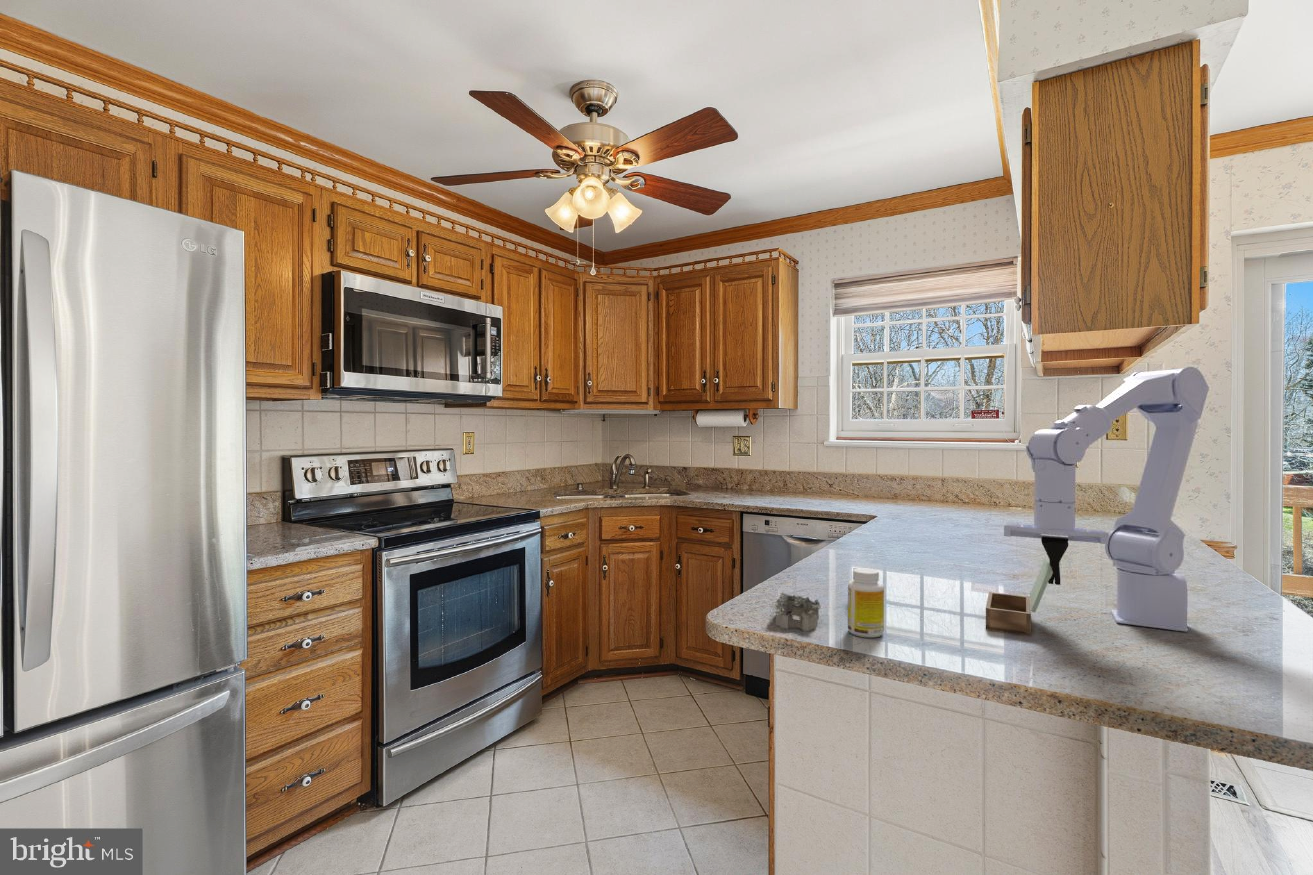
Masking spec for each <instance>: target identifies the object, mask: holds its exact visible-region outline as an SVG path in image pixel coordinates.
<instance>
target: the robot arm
mask: <svg viewBox="0 0 1313 875" xmlns="http://www.w3.org/2000/svg"><path fill="white" fill-rule="evenodd" d="M1121 384H1122V385H1120V387H1117V389H1115V390H1114V391H1112V393H1110V394H1109V395H1107V396H1106V397H1105V398H1104V399H1103V400H1102V401H1100V402H1099V403H1098V404H1096V405H1094V404H1087V405H1086V404H1083V405H1082V404H1081V405H1077V406H1075V407H1074V408H1073V412H1072V413H1070V414H1069V415H1068V416H1066V417H1065V418H1063V419H1062V420H1057V421H1055V422H1054V423H1053V426H1051V427H1050V429H1039V430H1037V431H1036V432H1035V433H1034V434H1032V435H1031V437H1030V438H1029V440H1028V443H1027V445H1025V451H1026V454H1027V456H1028V458H1029V460H1030V462H1031V470H1032V472H1033V473H1034V490H1033V491H1034V496H1033V497H1034V498H1033V499H1034V501H1033V502H1034V504H1033V505H1034V506H1033V507H1034V508H1033V509H1034V510H1033V511H1034V512H1033V515H1034V518H1033V524H1019V523H1018V524H1017V523H1016V524H1015V523H1004V524H1003V536H1004V537H1009V538H1010V537H1015V538H1016V537H1018V538H1031V539H1040V540H1041V544H1042V546H1043V549H1044V551H1045V552H1046V555H1047V557H1048V558H1049V564H1050V566H1051V567H1052V572H1053V573H1052V576H1051V578H1050V579H1049V581H1048V583H1047V585H1054V584H1055V586H1056V585H1057V586H1061V572H1060V563H1061V561H1062V558H1063V557H1064V555H1065V553H1066V551H1067V550H1068V548H1069V542H1079V543H1081V542H1083V543H1095V544H1101V545H1104V550H1105V554H1106V556H1107V557H1108V558H1109V559H1110V560H1111V561H1112V567H1115V568H1116V609H1114V608H1113V609H1111V610H1110V612H1111V614H1112V616H1113V618H1114V621H1116V623H1118V624H1123V625H1124V624H1126V625H1133V626H1140V627H1149V628H1156V629H1162V630H1172V631H1177V632H1179V631H1180V632H1186V633H1187V632H1188V631H1189V628H1188V598H1189V597H1188V585H1187V579H1186V577H1185V575H1184V574H1182V573H1175V571H1177V570H1178V569H1179V568H1180V567H1181V565H1182V563H1183V561H1184V558H1185V551H1184V540H1185V536H1186V534H1185V532H1184V531H1183V530H1182V529H1181V528H1180V527H1179V525H1177V524H1176V523H1175V522H1174V521H1173V520H1172V517H1173V513H1174V509H1175V506H1176V502H1177V499H1178V495H1179V491H1180V488H1181V484H1182V481H1183V478H1184V473H1185V470H1186V468H1187V463H1188V460H1189V456H1190V453H1191V449H1192V446H1193V442H1194V439H1195V434H1196V432H1197V428H1198V423H1199V420H1200V419H1201V417H1202V414H1203V411H1204V407H1205V403H1206V400H1207V397H1208V392H1209V390H1210V387H1209V385H1208V383H1207V381H1206V378H1205V376H1204V375H1203V373H1202V371H1200V370H1199V369H1198V368H1196V367H1194V366H1186V367H1181V368H1172V369H1171V368H1170V369H1160V370H1151V371H1150V370H1149V371H1144V370H1141V371H1135V372H1133V373H1132V374H1131V375H1130V376H1127V377H1124V378H1123V380H1122V383H1121ZM1134 409H1136V410H1137V411H1138V412H1139V413H1140V414H1141V416H1143V417H1144V419H1146V421H1149V422H1152V423H1153V425H1154V427H1155V430H1154V434H1153V438H1152V441H1151V445H1150V447H1149V451H1148V455H1147V458H1146V461H1145V462H1146V463H1145V465H1144V469H1143V472H1142V476H1141V480H1140V482H1139V486H1138V490H1137V493H1136V496H1135V499H1134V504H1133V507H1132V509H1131V511H1129V512H1128V513H1126V514H1124V515H1122V516H1120V517H1118V518H1117V519H1116V520H1115V523H1114V525H1113V528H1112V529H1111V530H1110V532H1109V531H1107V530H1103V529H1102V530H1100V529H1099V530H1098V529H1090V528H1080V527H1076V469H1077V467H1076V464H1077V463H1080V462H1081V461H1083V458H1084V457H1085V455H1086V451H1087V449H1089V448H1090V446H1091V445H1092V444H1094V443H1095V442H1097V441H1098V440H1100V439H1102V438H1103V437H1104V436H1105V435H1107V434H1108V433H1110V431H1111V430H1112V427H1113V421H1115V420H1117V419H1118V418H1120V417H1122V416H1124V415H1126V414H1128V413H1129V412H1131V411H1132V410H1134Z"/></svg>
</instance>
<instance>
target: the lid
mask: <svg viewBox="0 0 1313 875" xmlns="http://www.w3.org/2000/svg"><path fill="white" fill-rule="evenodd" d="M1052 573H1053V572H1052V567H1051V566H1050V564H1049V557H1048V556H1044V560H1043V561H1042V564H1041V566H1040V569H1039V571H1038V574H1037V576H1036V578H1035V581H1034V583H1033V585H1032V588H1031V590H1030V593H1029V597H1030V608H1031V612H1032V613H1036V611H1037V609H1038V607H1039V605H1040V602H1041V600H1042V597H1043V595H1044V592H1045V590H1046V588H1047V585H1048V581H1049V579H1050V578H1051V576H1052Z"/></svg>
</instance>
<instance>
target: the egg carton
mask: <svg viewBox="0 0 1313 875" xmlns="http://www.w3.org/2000/svg"><path fill="white" fill-rule="evenodd" d="M772 609H773V611H774V613H775V626H777V627H780V628H782V629H790V628H791V629H792V628H797V629H801V630H802V631H807V632H808V631H810V630H817V625H818V619H819V610H820V609H821V604H820V601H819V600H818V599H815V600H811V599H810V597H809V596H808V597H804V596H800V595H795V594H793V595H790V594H787V593H784V592H781V594H780V596H779V597H778V599H776V602H775V603H774V605H772ZM789 612H791V613H789ZM787 613H789V614H787Z"/></svg>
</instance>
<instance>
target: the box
mask: <svg viewBox="0 0 1313 875" xmlns="http://www.w3.org/2000/svg"><path fill="white" fill-rule="evenodd" d="M1031 612H1032V611H1031V603H1030V596H1029V595H1028V596H1027V595H1026V596H1025V595H1020V594H1019V595H1018V594H1012V593H1011V594H1010V593H1009V594H1008V593H1000V592H993V591H988V595H987V600H986V606H985V630H987V631H992V632H999V633H1007V634H1011V635H1019V636H1027V637H1031V636H1032V634H1031V632H1032V631H1031V629H1032V626H1031V624H1032V621H1031V620H1032V618H1031V617H1032V613H1031Z"/></svg>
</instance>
